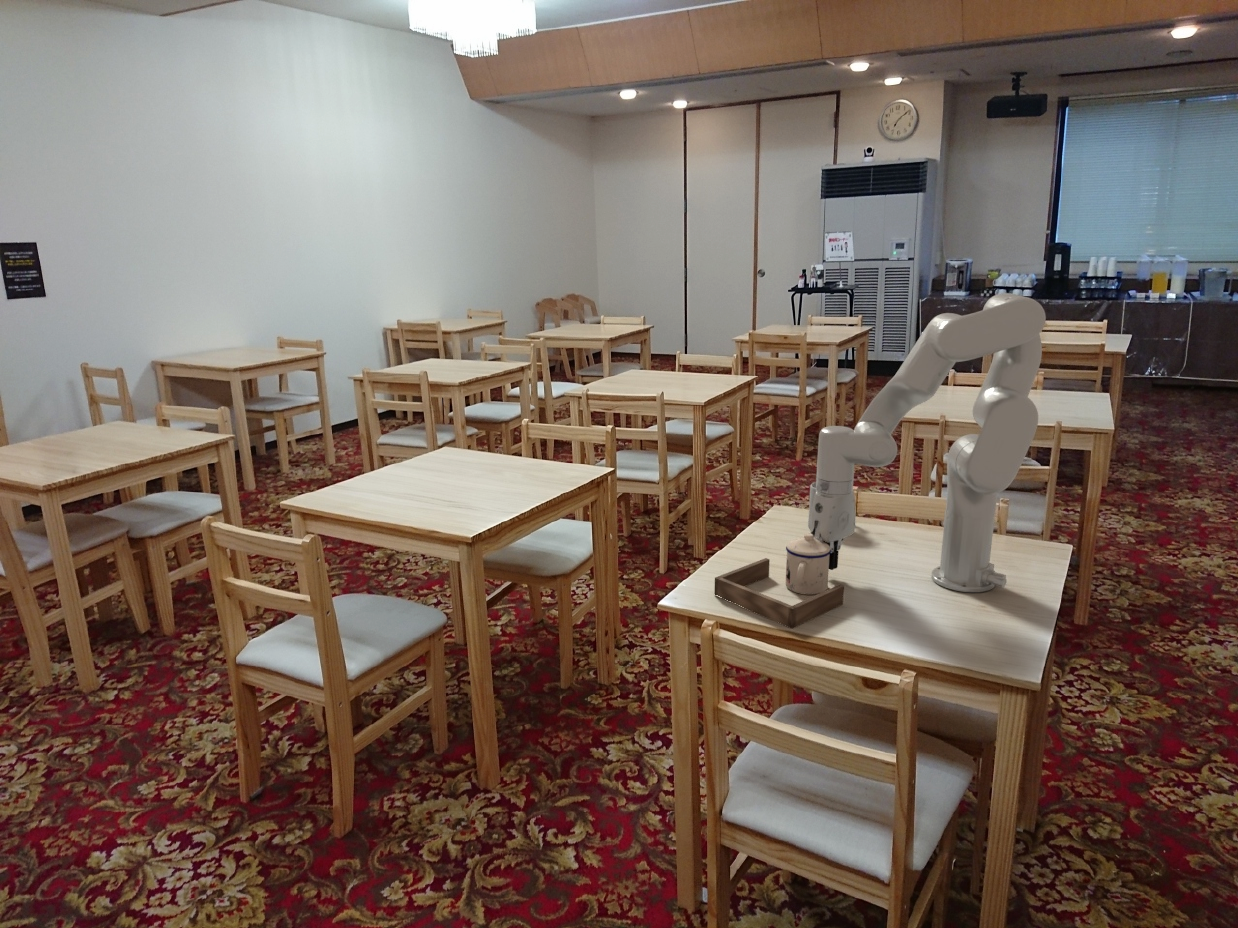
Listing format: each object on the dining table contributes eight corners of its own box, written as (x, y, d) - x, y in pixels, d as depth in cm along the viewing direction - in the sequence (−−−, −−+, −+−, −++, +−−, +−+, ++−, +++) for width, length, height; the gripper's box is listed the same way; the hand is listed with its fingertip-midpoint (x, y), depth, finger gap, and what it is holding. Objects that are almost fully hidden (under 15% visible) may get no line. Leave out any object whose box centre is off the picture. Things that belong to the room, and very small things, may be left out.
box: (842, 604, 170) (844, 585, 169) (792, 628, 160) (793, 609, 159) (765, 575, 184) (765, 557, 183) (714, 595, 174) (714, 577, 173)
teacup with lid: (789, 575, 184) (792, 524, 181) (832, 582, 180) (835, 530, 177) (776, 597, 173) (778, 543, 170) (821, 604, 170) (824, 549, 167)
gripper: (826, 496, 170) (821, 581, 175) (870, 482, 179) (864, 563, 184) (797, 488, 176) (792, 570, 181) (841, 475, 185) (835, 554, 190)
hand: (829, 567), depth 182 cm, fingers closed
